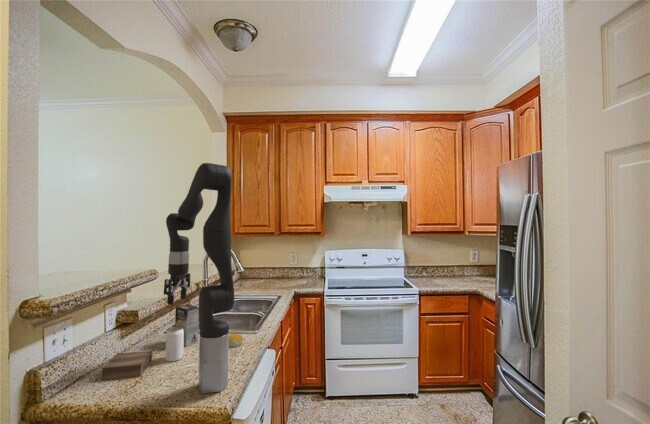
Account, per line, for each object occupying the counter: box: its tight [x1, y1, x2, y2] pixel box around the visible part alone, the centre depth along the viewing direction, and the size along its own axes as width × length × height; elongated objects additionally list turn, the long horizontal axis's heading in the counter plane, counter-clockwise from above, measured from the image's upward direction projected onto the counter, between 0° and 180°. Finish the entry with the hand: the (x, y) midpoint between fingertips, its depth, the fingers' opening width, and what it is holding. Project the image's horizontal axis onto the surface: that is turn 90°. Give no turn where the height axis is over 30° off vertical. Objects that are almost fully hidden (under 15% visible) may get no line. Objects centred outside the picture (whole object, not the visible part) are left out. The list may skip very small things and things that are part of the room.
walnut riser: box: [101, 350, 153, 381], centre depth 114 cm, size 12×12×4 cm
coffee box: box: [174, 303, 199, 347], centre depth 141 cm, size 9×6×16 cm
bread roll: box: [228, 333, 244, 348], centre depth 139 cm, size 8×9×4 cm
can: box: [164, 325, 185, 363], centre depth 124 cm, size 6×6×12 cm
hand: (177, 301), depth 127 cm, fingers open, 8 cm apart
